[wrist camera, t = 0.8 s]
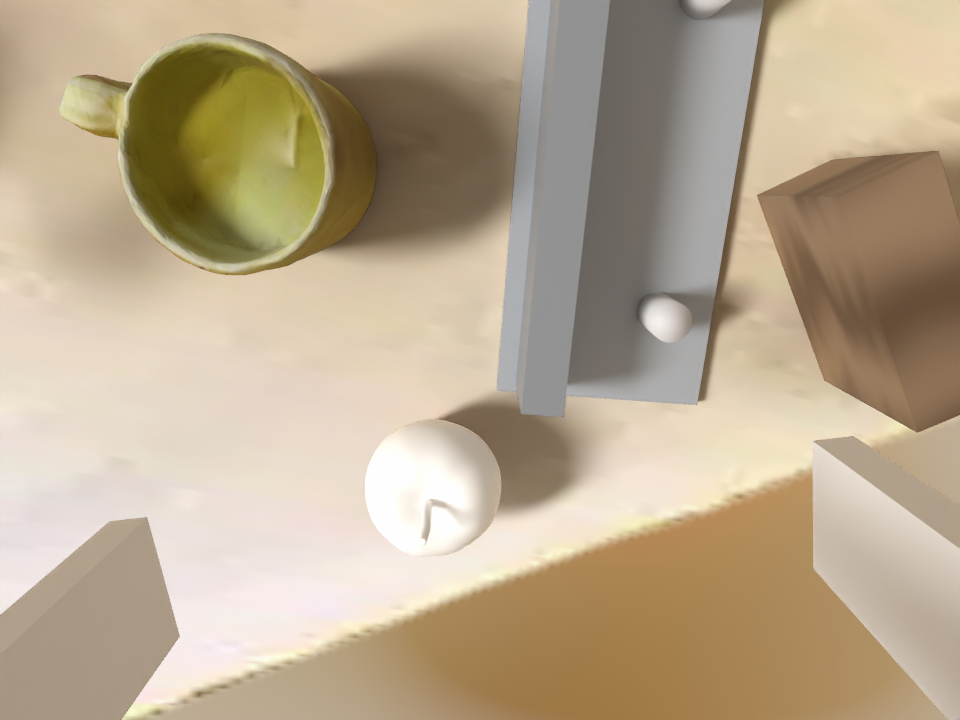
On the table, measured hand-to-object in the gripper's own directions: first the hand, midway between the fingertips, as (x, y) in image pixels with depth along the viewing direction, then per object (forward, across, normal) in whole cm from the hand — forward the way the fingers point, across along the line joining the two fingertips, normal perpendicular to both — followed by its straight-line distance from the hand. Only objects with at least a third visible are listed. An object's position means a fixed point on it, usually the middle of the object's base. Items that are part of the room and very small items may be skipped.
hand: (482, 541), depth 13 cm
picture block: (+23, +18, 0) cm, 29 cm away
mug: (+23, -10, +10) cm, 27 cm away
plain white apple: (+23, -4, -7) cm, 25 cm away
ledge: (+23, +8, +8) cm, 25 cm away
